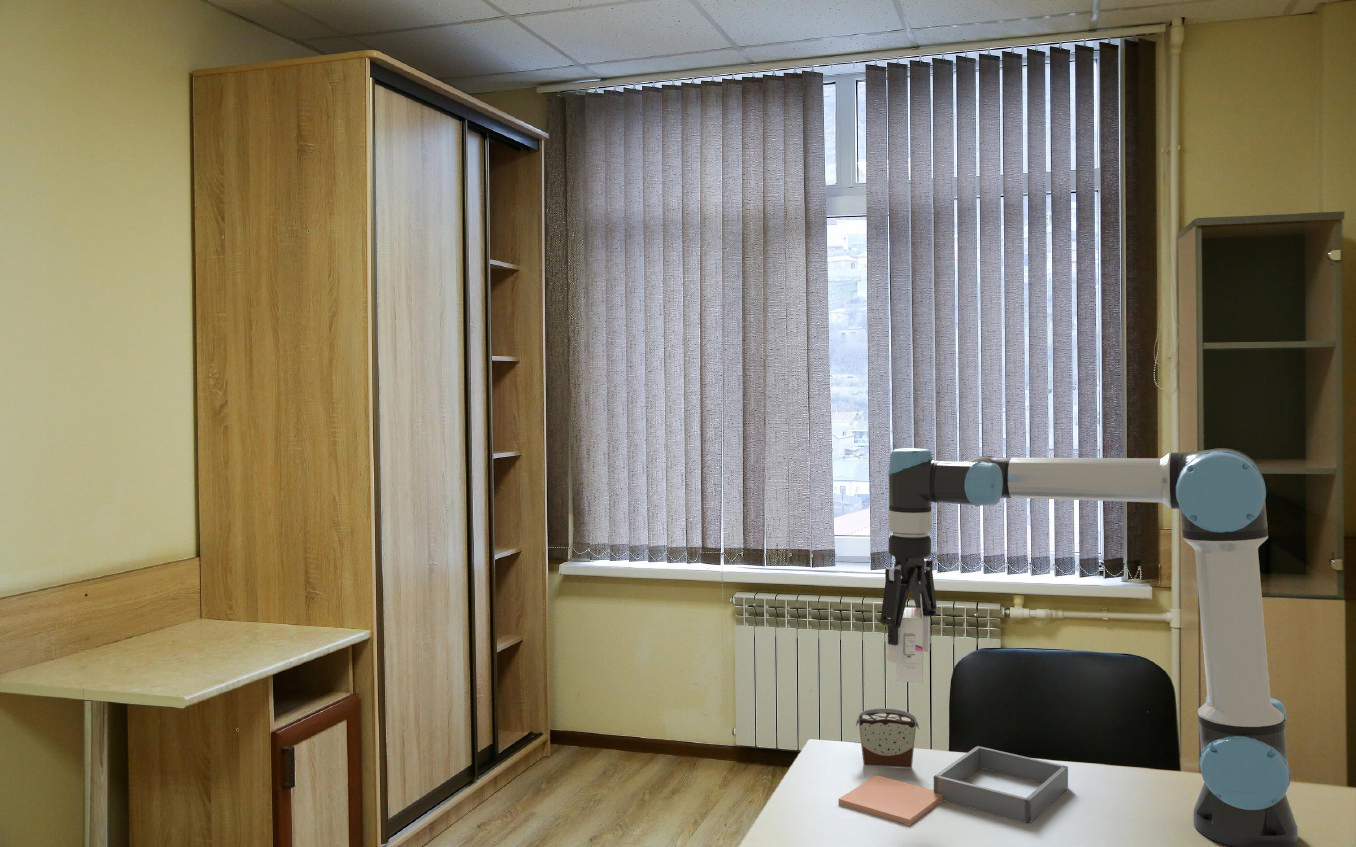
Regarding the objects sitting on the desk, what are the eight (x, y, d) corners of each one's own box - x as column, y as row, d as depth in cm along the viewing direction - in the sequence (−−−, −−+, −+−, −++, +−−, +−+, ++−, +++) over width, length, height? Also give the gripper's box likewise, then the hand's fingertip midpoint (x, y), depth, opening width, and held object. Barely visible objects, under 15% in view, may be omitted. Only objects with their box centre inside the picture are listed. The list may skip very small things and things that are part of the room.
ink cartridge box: (895, 668, 184) (895, 590, 183) (922, 669, 183) (922, 591, 182) (894, 681, 175) (895, 599, 175) (923, 683, 174) (924, 601, 174)
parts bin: (1067, 787, 184) (1067, 766, 184) (1029, 823, 169) (1029, 800, 169) (977, 765, 195) (977, 745, 195) (933, 797, 180) (933, 775, 180)
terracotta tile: (944, 798, 180) (944, 793, 180) (909, 824, 169) (909, 819, 169) (876, 780, 189) (876, 774, 189) (838, 803, 178) (838, 798, 178)
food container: (917, 757, 200) (917, 708, 200) (919, 768, 194) (919, 718, 194) (856, 754, 202) (855, 706, 202) (856, 765, 196) (855, 715, 196)
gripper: (919, 525, 189) (918, 640, 190) (860, 539, 172) (859, 665, 173) (956, 528, 184) (955, 647, 185) (898, 543, 167) (898, 673, 168)
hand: (909, 655), depth 179 cm, fingers closed on ink cartridge box, 10 cm apart
